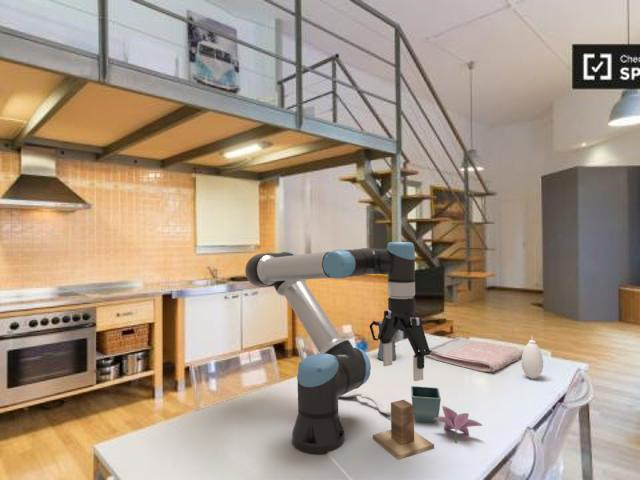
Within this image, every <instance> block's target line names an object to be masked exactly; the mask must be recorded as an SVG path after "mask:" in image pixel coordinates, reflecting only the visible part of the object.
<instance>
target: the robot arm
mask: <svg viewBox="0 0 640 480" xmlns="http://www.w3.org/2000/svg"><path fill="white" fill-rule="evenodd" d="M244 269H245V270H244V271H245V276H246V279H247V280H248V282H249V283H250V284H252V285H253V286H254V287H260V288H268V287H269V288H270V287H273V288H274V289H275V291H276V293H277V294H278V296H283V297H285V299H286V300H287V302H288V304H289V306H290V308H291V309H292V310H293V312H294V313H295V315H296V317H297V319H298V321H300V323H301V325H302V326H303V328H304V330H305V331H306V333H307V334H308V336H309V338H310V340H311V341H312V343H313V345H314V346H315V348H316V349H317V351H318V352H319V353H317V354H311V355H308V356H305V358H302V359H301V361H299V364H298V367H297V375H296V379H297V380H296V381H297V415H296V419H295V422H294V425H293V429H292V433H291V437H292V438H291V441H292V442H291V443H292V444H293V446H294V447H295V448H296V450H297V449H298V450H299V451H300V452H304V453H307V454H314V455H321V454H328V453H329V452H332V451H336V450H338V449H339V448H341V447H342V446H343V444H344V443H345V440H346V438H345V436H346V435H345V434H346V433H345V429H344V425H343V423H342V420H341V417H340V413H339V398H341V397H340V396H342V395H344V394H346V393H348V392H350V391H352V390H357V389H359V388H360V387H361V386H363V385H364V384H366V383H367V381H368V380H369V378H370V375H371V370H372V369H371V368H372V364H371V360H370V358H369V356H368V354H367V353H366V351H364V350H363V349H361V348H359V347H354V346H353V344H352V343H351V342H350V340H349V339H346V338H342V336H341V334H339V332H338V330H337V329H336V328H335V326H334V324H333V323H332V321H331V320H330V318H329V317H328V315H327V314H326V312H325V311H324V309H323V308H322V306H321V304H320V302H318V300H317V299H316V297H315V296H314V294H313V292H312V290H311V289H310V288H309V286H308V284H306V280H317V279H338V280H339V279H345V278H350V277H359V276H366V275H385V276H387V295H388V298H387V309H388V310H384V311H383V319H382V320H381V321H382V325H381V328H380V331H379V330H378V334H377V339H378V340H379V341H380V340H381V342H382V343H383V360H382V361H383V362H382V364H383V367H388V366H393V361H392V343H389V342H392V340H391V339H392V338H393V336H394V334H395V333H396V331H397V330H398V329H399V331H400V332H402V333H403V335H405V336H406V337H407V340H408V342H409V344H410V346H411V348H412V350H413V353H414V355H413V356H412V357H413V358H412V361H413V362H412V365H413V367H412V369H413V370H412V371H413V373H412V374H413V381H414V382H419V381H423V380H424V369H425V356H426V355H430V350H429V348H430V347H429V344H428V341H427V337H426V335H425V331H424V328H423V320H422V318H421V317H420V316H419V317H414V314H413V313H414V312H415V311H416V298H415V295H416V277H415V276H416V251H415V245H414V243H413V242H410V241H391V242H388V243H387V247H386V248H367V247H365V248H363V247H362V248H355V249H335V250H331V251H322V252H313V253H303V254H296V253H293V252H288V251H287V252H286V251H283V252H278V253H277V252H276V253H275V252H273V253H271V252H270V253H268V252H267V253H258V254H255V255H253V256H252V257H251V258H250V259H249V260H248V261H247V263H246V265H245V267H244ZM383 334H384V335H383Z"/></svg>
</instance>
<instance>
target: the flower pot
mask: <svg viewBox="0 0 640 480" xmlns="http://www.w3.org/2000/svg"><path fill="white" fill-rule="evenodd" d="M410 391H411V404H412V405H414V419H416V421H417V422H419V423H422V422H423V423H431V424H433V423H436V421H437V420H436V419H434V418H437V417H439V415H440V410H441V409H440V408H441V401H442V398H441V394H440V389H439V388H438V387H430V386H428V387H427V386H416V385H411V386H410Z"/></svg>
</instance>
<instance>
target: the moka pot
mask: <svg viewBox="0 0 640 480" xmlns="http://www.w3.org/2000/svg"><path fill="white" fill-rule="evenodd" d="M382 321H383V320H381V321H377V320H376V321H375V320H373V321H372V322H371V323H370V324H369V330H370V333H371V335H372V339H373V341H379V344H378V345H379V346H378V351H377V359H378V360H381V361H383V343H382V342H381V340H380V339H378V338H376V336H375V331H374V327H373V326H376V327H377V326H378V332H379V331H380V328H381V325H382ZM399 331H400V330H399V329H398V330H397V331H396V333H395V334H394V336H393V338H392V339H391V340H392V342H389V343H392V362H393V361H396V359H397V352H396V344H395V343H396V339H397V336H398V335H397V334H398V332H399ZM383 335H384V334H383Z"/></svg>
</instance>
